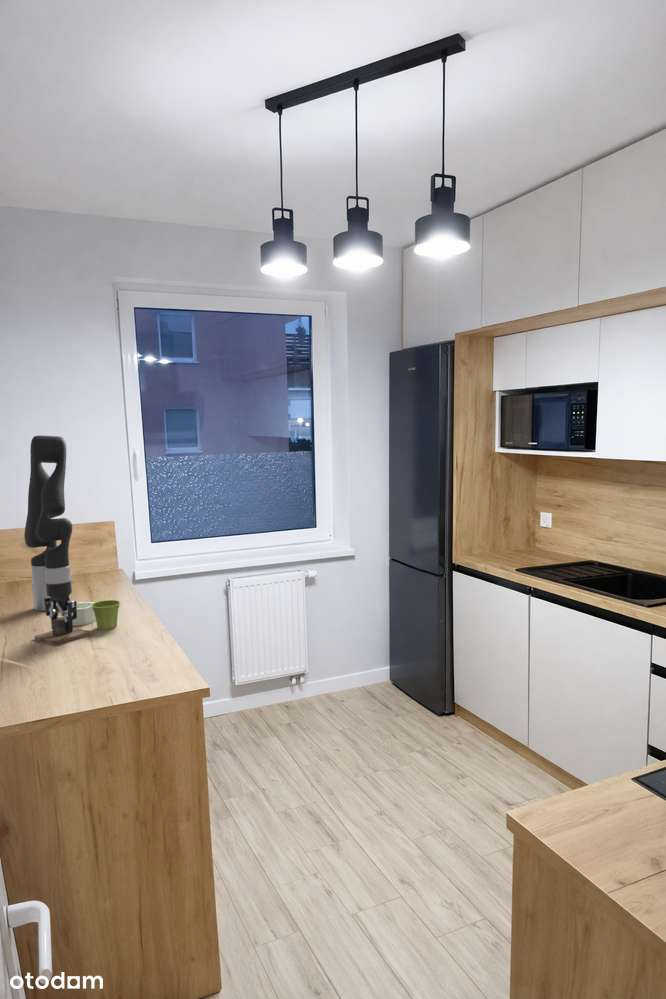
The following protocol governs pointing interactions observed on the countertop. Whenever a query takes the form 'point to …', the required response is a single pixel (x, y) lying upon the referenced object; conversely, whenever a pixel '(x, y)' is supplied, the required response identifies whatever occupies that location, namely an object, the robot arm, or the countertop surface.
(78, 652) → the countertop surface
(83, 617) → the bowl
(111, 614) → the plant pot
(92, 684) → the countertop surface
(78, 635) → the lid
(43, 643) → the mat
